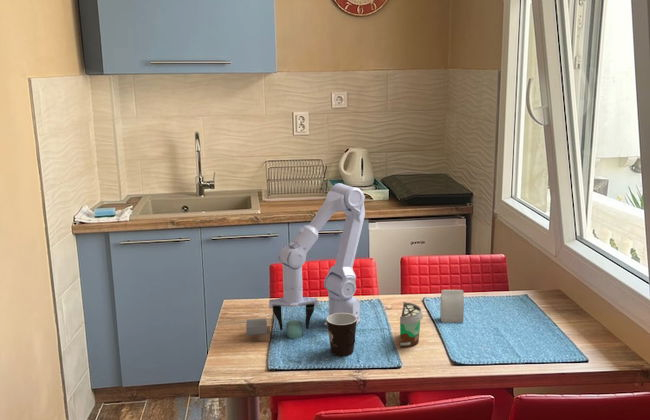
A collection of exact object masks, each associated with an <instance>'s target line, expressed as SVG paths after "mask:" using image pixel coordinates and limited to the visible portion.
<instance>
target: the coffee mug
mask: <svg viewBox="0 0 650 420" xmlns="http://www.w3.org/2000/svg"><path fill="white" fill-rule="evenodd" d="M326 322H327V325H326V326H327V331H328V338H329V346H330V351H331V354H332V355H334V356H337V357H347V356H350V355H352V354H354V351H355V350H354V349H355V343H356V331H357V325H358V324H357V317H356V316H355V315H353V314H349V313H335V314H332V315H329V314H328V316H327V317H326ZM356 324H357V325H356Z"/></svg>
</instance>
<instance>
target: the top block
mask: <svg viewBox="0 0 650 420" xmlns="http://www.w3.org/2000/svg"><path fill="white" fill-rule="evenodd" d="M267 326H268V322H267V318H255V319H254V318H253V319H246V327H245V328H246V329H245V330H246V331H245V332H246V333H247V335H262V334H267Z"/></svg>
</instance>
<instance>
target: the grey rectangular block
mask: <svg viewBox="0 0 650 420" xmlns="http://www.w3.org/2000/svg"><path fill="white" fill-rule="evenodd" d="M440 291H441V293H440V294H441V295H440V308H439V309H440V315H439V316H440V317H439V318H440V321H442V322H441V323H464V318H465V317H464V315H465V314H464V312H465V307H464V306H465V300H464V298H465V297H464V296H465V295H464V289H441V290H440Z"/></svg>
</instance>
